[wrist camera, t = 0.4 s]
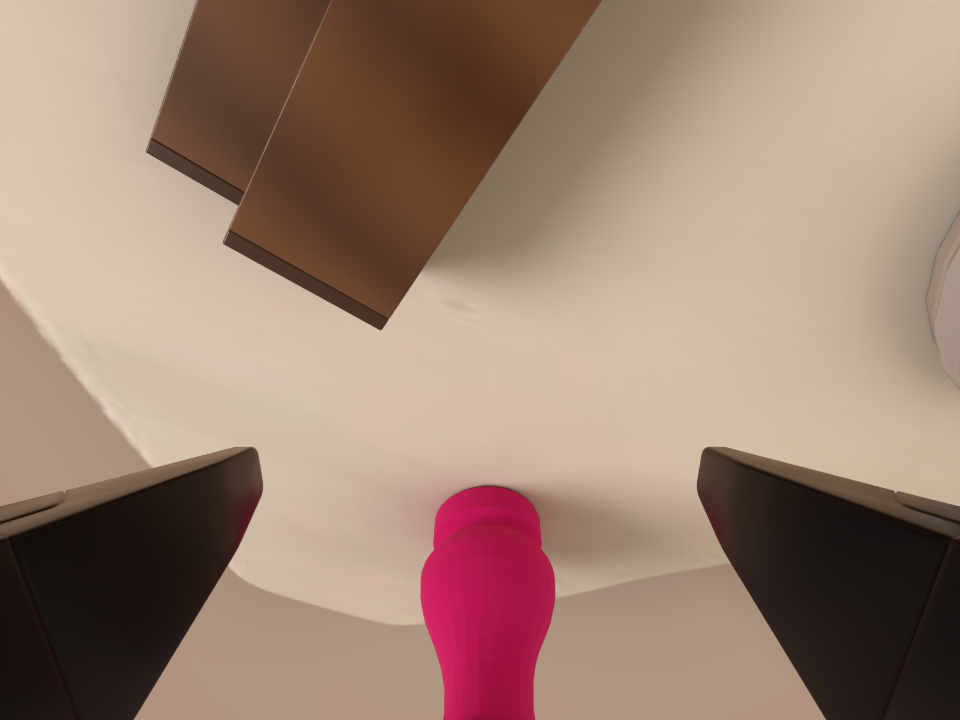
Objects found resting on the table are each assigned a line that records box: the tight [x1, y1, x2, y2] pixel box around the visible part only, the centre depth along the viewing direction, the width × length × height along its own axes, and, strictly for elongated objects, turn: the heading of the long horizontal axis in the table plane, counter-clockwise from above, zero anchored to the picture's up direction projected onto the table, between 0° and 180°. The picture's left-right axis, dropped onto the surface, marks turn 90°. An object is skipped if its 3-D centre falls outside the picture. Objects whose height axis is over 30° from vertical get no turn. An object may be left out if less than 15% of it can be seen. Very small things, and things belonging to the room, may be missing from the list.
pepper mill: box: [421, 487, 555, 720], centre depth 26 cm, size 7×7×20 cm
